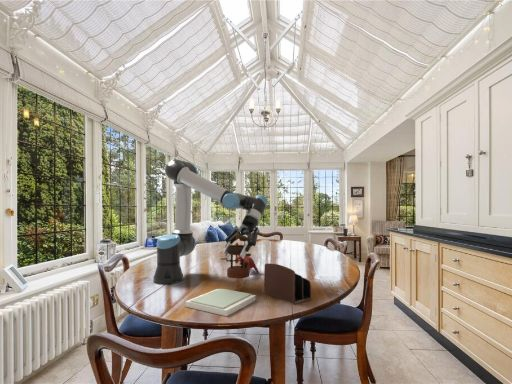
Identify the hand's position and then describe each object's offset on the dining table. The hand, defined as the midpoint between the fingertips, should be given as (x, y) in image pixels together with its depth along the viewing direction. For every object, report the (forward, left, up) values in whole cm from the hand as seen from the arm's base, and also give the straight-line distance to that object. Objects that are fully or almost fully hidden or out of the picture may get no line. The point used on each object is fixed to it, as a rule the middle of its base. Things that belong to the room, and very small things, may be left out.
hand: (233, 255), depth 137 cm
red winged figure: (-13, +32, -16) cm, 38 cm away
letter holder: (+25, +5, -16) cm, 30 cm away
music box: (0, +3, -10) cm, 11 cm away
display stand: (+6, -17, -16) cm, 24 cm away
